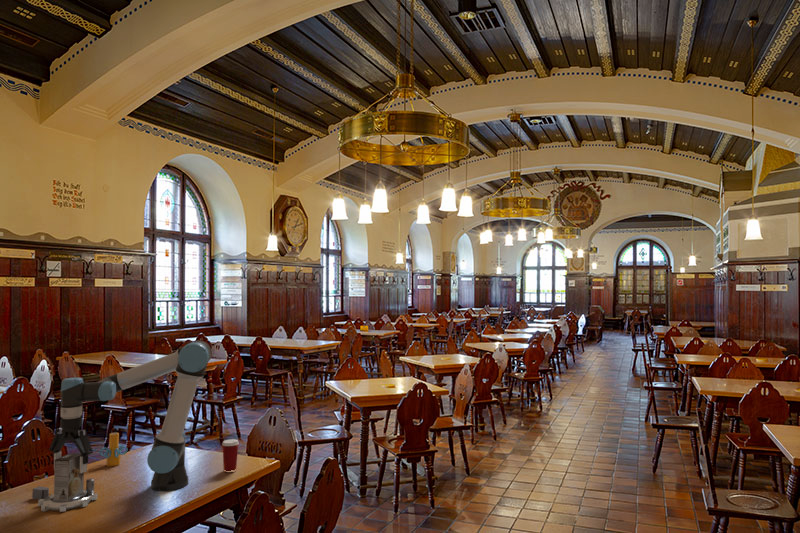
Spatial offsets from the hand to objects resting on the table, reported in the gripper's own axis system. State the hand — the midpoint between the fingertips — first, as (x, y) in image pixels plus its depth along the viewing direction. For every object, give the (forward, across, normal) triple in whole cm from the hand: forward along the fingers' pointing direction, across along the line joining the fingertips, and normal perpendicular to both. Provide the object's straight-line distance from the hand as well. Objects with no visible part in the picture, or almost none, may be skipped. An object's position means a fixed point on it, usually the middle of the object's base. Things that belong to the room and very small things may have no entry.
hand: (70, 470), depth 219 cm
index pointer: (+12, -16, 0) cm, 20 cm away
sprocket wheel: (+13, 0, 0) cm, 13 cm away
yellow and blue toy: (+13, -23, +44) cm, 51 cm away
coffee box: (+10, 0, 0) cm, 11 cm away
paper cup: (+14, +36, +55) cm, 67 cm away
